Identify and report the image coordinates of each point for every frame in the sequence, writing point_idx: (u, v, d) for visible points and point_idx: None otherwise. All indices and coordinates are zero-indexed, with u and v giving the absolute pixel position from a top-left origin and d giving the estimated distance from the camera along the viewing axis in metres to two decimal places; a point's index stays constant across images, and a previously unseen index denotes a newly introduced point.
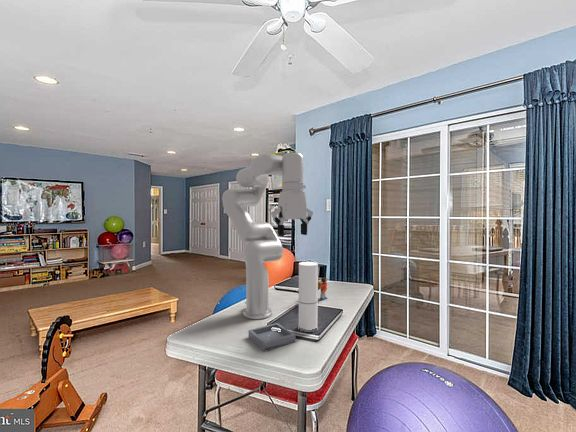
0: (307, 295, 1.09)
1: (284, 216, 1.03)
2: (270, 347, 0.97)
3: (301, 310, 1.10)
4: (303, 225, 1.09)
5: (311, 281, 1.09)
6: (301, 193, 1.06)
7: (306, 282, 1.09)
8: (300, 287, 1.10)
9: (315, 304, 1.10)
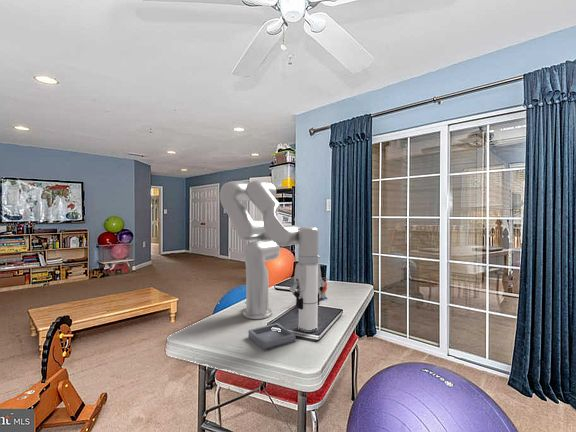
0: (307, 295, 1.09)
1: (301, 289, 1.08)
2: (270, 347, 0.97)
3: (301, 310, 1.10)
4: None
5: (311, 281, 1.09)
6: None
7: (306, 282, 1.09)
8: None
9: (315, 304, 1.10)
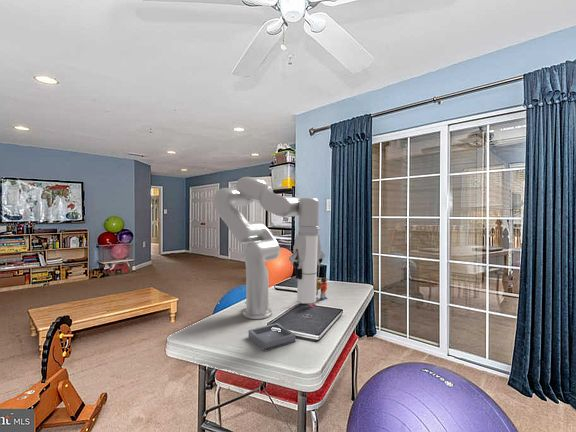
0: (306, 265, 1.09)
1: (300, 259, 1.08)
2: (270, 347, 0.97)
3: (300, 281, 1.10)
4: None
5: (310, 251, 1.08)
6: None
7: None
8: None
9: (314, 275, 1.10)
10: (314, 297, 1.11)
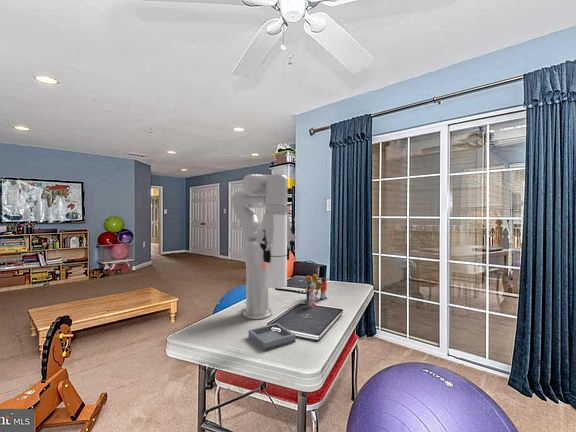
0: (274, 247, 1.00)
1: (268, 240, 1.00)
2: (270, 347, 0.97)
3: (269, 264, 1.01)
4: None
5: (279, 231, 1.00)
6: None
7: (274, 233, 1.00)
8: None
9: (284, 257, 1.02)
10: (284, 281, 1.02)
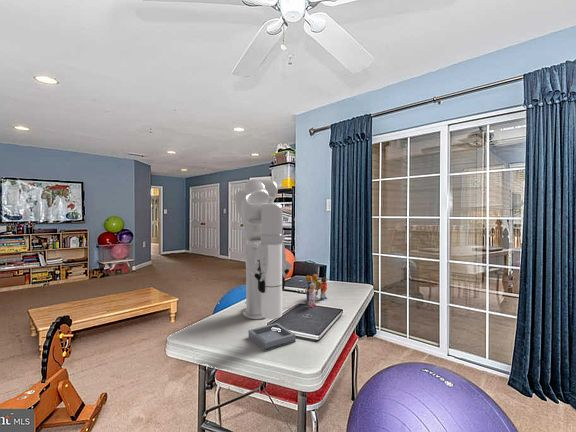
0: (269, 277, 0.99)
1: (262, 271, 0.99)
2: (270, 347, 0.97)
3: (264, 294, 1.01)
4: None
5: (273, 262, 0.99)
6: None
7: (268, 263, 0.99)
8: None
9: (279, 287, 1.01)
10: (279, 312, 1.01)
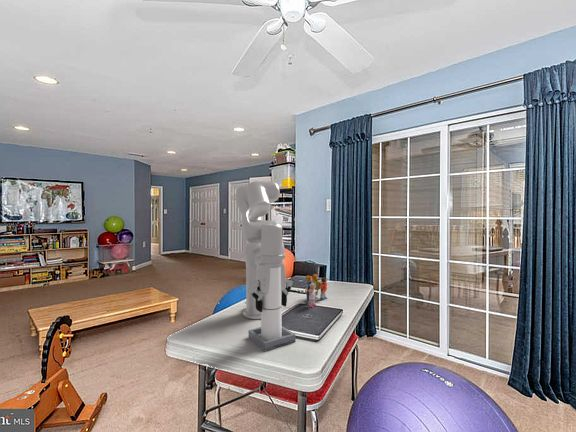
0: (268, 300, 1.00)
1: (262, 291, 0.99)
2: (270, 347, 0.97)
3: (263, 317, 1.01)
4: (282, 296, 1.06)
5: (273, 285, 1.00)
6: (280, 265, 1.02)
7: None
8: None
9: (278, 310, 1.01)
10: (279, 334, 1.02)
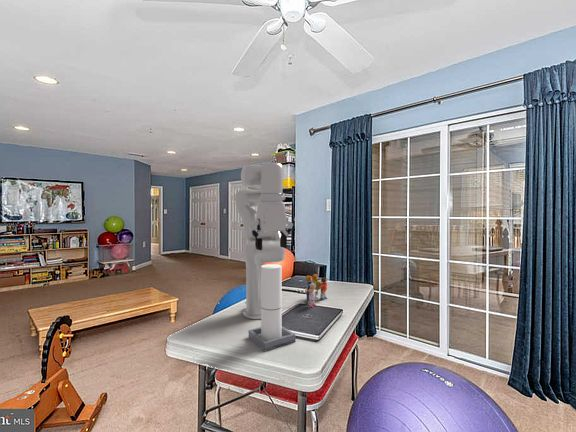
0: (269, 301, 1.00)
1: (262, 229, 0.99)
2: (270, 347, 0.97)
3: (263, 317, 1.01)
4: (282, 237, 1.05)
5: (273, 285, 1.00)
6: (280, 205, 1.02)
7: (268, 287, 1.00)
8: (262, 292, 1.02)
9: (278, 310, 1.01)
10: (279, 334, 1.02)
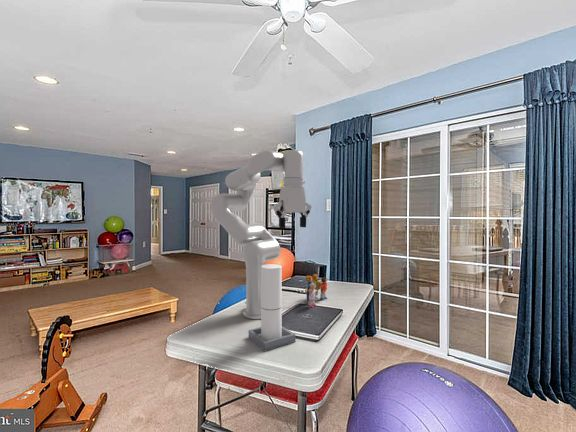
0: (269, 301, 1.00)
1: (285, 209, 1.10)
2: (270, 347, 0.97)
3: (263, 317, 1.01)
4: (302, 218, 1.17)
5: (273, 285, 1.00)
6: (301, 188, 1.13)
7: (268, 287, 1.00)
8: (262, 292, 1.02)
9: (278, 310, 1.01)
10: (279, 334, 1.02)
